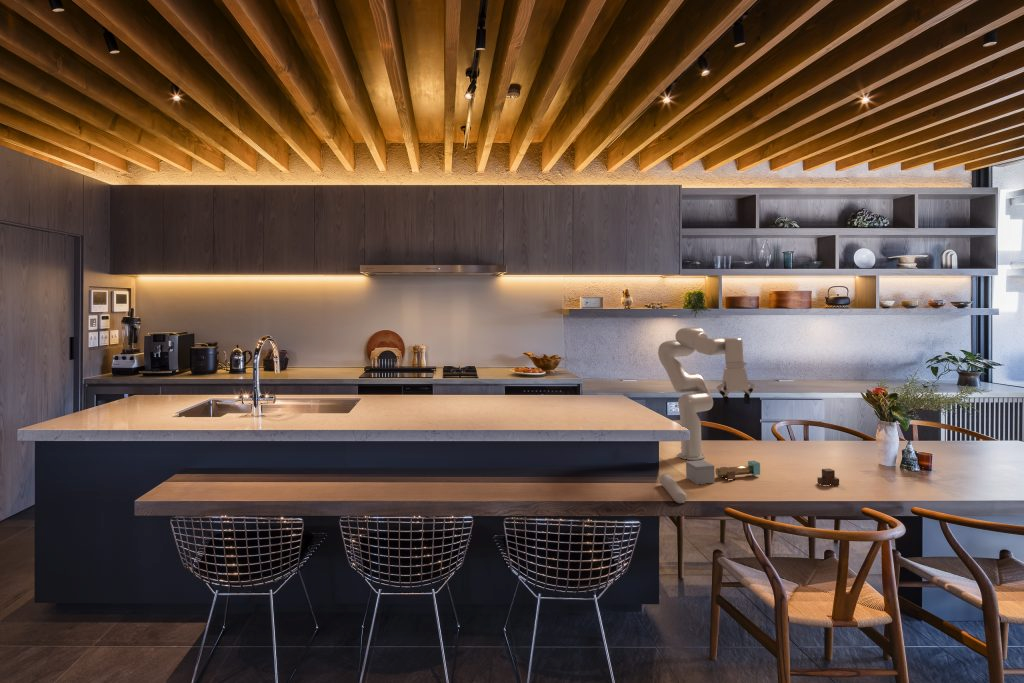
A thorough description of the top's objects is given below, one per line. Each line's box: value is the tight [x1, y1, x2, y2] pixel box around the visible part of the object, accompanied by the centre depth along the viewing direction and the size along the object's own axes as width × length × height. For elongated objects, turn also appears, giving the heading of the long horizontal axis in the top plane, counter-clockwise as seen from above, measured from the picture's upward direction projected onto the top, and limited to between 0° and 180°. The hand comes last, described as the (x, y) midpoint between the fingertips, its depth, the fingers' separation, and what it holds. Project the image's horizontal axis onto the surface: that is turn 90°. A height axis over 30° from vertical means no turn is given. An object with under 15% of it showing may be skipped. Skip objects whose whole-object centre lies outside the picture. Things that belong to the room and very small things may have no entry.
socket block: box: [685, 459, 716, 486], centre depth 261 cm, size 10×8×8 cm
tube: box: [659, 473, 687, 504], centre depth 244 cm, size 5×5×25 cm
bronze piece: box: [715, 460, 761, 478], centre depth 263 cm, size 4×18×5 cm, turn 99°
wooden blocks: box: [816, 468, 840, 486], centre depth 247 cm, size 15×15×7 cm
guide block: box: [719, 466, 736, 480], centre depth 263 cm, size 7×3×4 cm, turn 9°
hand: (736, 404), depth 270 cm, fingers open, 9 cm apart
